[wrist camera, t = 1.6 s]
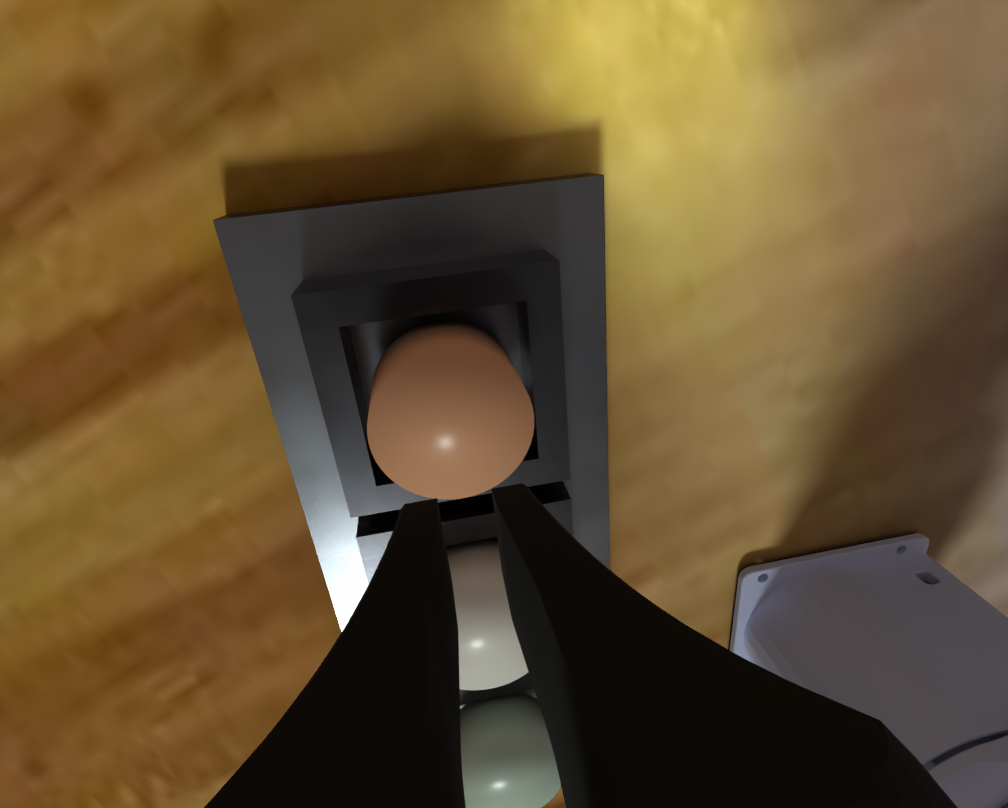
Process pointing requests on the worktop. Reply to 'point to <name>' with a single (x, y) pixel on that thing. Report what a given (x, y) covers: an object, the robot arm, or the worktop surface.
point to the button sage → (507, 754)
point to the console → (416, 302)
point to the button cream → (483, 618)
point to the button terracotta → (448, 412)
